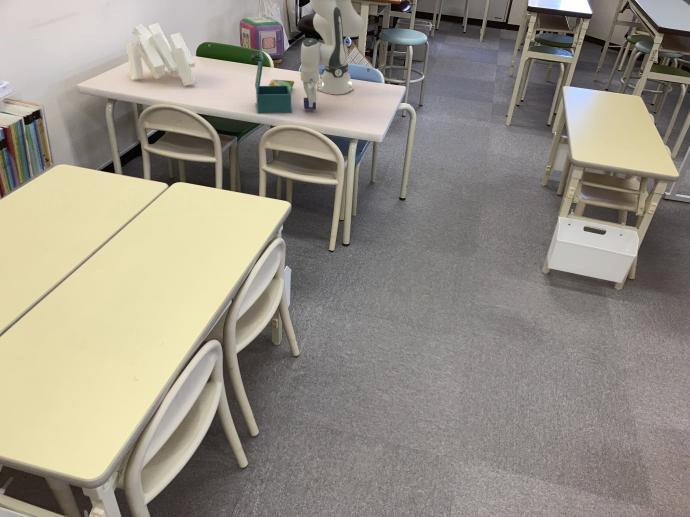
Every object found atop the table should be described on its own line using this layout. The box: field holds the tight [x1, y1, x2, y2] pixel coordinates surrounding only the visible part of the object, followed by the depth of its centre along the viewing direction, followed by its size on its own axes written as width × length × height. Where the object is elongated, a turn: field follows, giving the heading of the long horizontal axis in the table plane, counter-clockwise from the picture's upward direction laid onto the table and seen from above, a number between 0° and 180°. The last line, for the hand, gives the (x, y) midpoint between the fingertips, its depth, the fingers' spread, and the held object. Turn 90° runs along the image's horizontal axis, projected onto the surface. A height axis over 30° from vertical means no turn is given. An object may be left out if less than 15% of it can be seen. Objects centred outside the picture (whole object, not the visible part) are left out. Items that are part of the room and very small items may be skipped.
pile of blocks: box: [125, 22, 196, 87], centre depth 287 cm, size 35×30×35 cm
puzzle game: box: [268, 79, 295, 93], centre depth 283 cm, size 12×5×20 cm
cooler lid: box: [250, 50, 265, 94], centre depth 256 cm, size 16×13×5 cm
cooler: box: [255, 85, 292, 114], centre depth 266 cm, size 16×13×9 cm
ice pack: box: [303, 97, 317, 110], centre depth 265 cm, size 4×6×4 cm
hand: (309, 104), depth 266 cm, fingers closed on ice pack, 4 cm apart
